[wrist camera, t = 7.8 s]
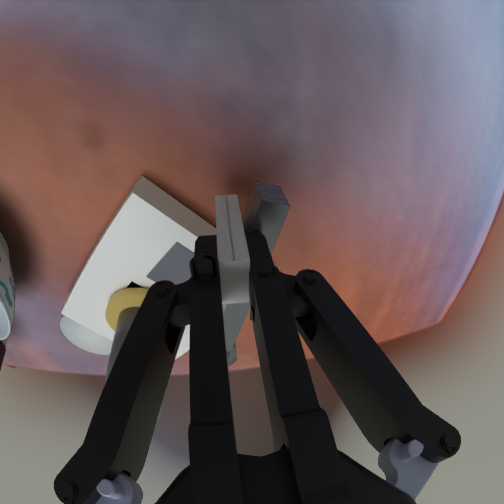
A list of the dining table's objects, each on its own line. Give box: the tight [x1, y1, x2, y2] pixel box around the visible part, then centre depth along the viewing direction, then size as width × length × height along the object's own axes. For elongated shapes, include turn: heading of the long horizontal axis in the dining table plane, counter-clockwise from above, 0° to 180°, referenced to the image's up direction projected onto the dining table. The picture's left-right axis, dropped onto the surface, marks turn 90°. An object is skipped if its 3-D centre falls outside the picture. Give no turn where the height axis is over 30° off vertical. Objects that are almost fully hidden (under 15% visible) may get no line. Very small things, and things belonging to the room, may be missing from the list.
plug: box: [105, 281, 162, 420], centre depth 22 cm, size 7×7×13 cm
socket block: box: [61, 176, 217, 359], centre depth 24 cm, size 17×14×4 cm
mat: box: [60, 315, 113, 355], centre depth 30 cm, size 9×9×1 cm
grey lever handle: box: [222, 181, 290, 366], centre depth 20 cm, size 17×3×2 cm, turn 164°
